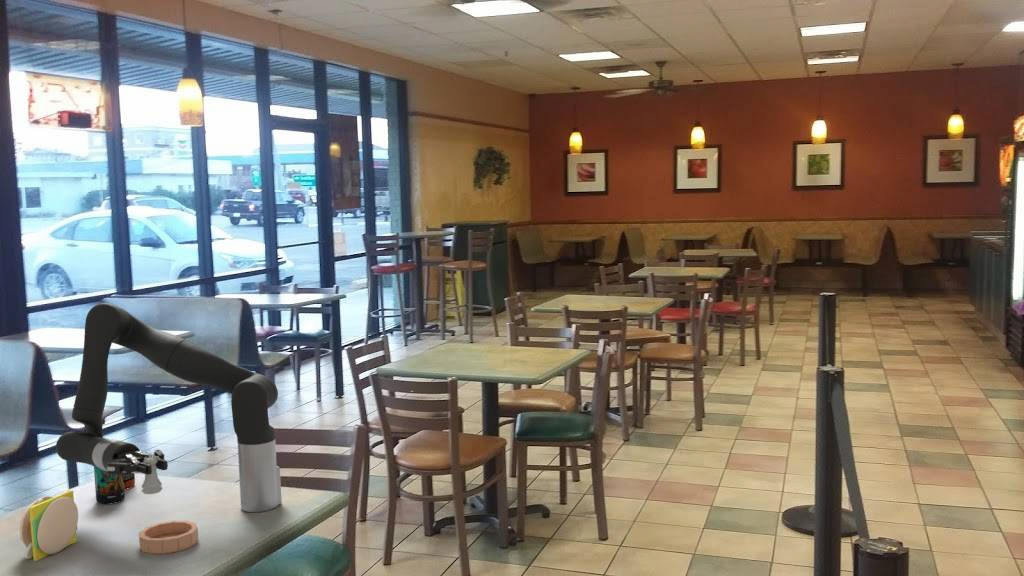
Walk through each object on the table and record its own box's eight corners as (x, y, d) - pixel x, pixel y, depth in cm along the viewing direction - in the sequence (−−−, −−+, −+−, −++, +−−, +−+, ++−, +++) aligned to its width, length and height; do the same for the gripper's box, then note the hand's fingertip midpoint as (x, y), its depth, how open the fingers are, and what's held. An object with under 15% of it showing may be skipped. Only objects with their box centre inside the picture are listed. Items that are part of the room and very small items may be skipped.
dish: (176, 530, 219) (176, 517, 218) (209, 540, 211) (208, 527, 211) (128, 546, 209) (127, 533, 208) (160, 558, 201) (159, 544, 201)
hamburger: (55, 539, 215) (51, 488, 214) (84, 542, 212) (81, 491, 211) (14, 558, 204) (9, 505, 202) (44, 561, 201) (40, 508, 200)
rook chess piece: (150, 495, 208) (147, 461, 207) (137, 492, 210) (135, 458, 209) (166, 490, 212) (164, 456, 211) (154, 487, 214) (152, 453, 213)
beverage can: (118, 504, 238) (115, 459, 237) (91, 505, 239) (88, 460, 237) (129, 496, 245) (126, 452, 244) (103, 496, 246) (100, 452, 244)
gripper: (86, 448, 213) (128, 459, 202) (142, 434, 224) (184, 444, 214) (88, 479, 213) (130, 492, 203) (144, 464, 225) (186, 475, 214)
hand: (157, 467), depth 209 cm, fingers closed on rook chess piece, 3 cm apart
